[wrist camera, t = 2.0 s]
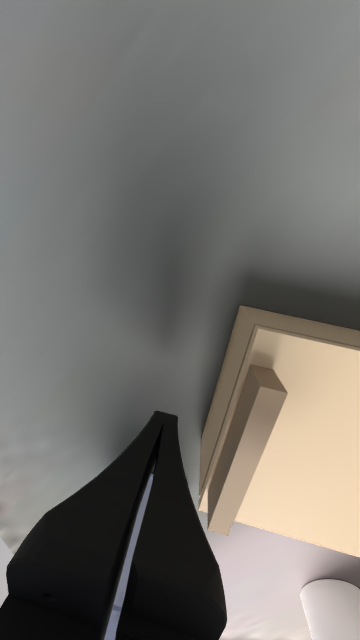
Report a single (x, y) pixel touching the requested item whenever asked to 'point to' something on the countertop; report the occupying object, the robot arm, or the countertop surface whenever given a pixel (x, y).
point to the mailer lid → (291, 443)
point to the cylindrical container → (332, 609)
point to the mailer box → (236, 357)
